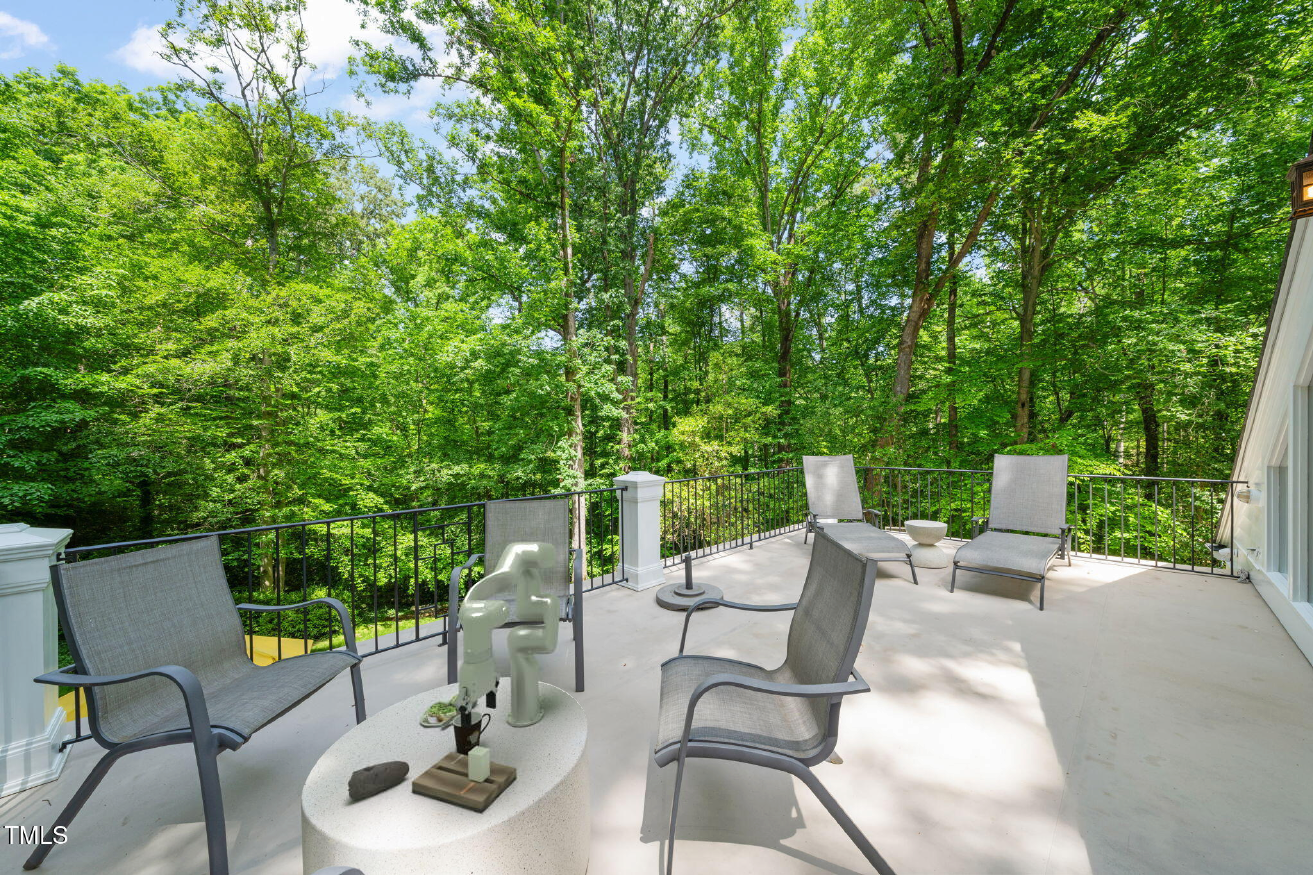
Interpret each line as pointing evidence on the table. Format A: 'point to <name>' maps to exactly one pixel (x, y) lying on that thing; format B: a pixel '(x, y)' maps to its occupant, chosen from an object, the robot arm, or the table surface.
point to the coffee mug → (468, 732)
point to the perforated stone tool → (376, 778)
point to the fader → (479, 763)
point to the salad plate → (442, 713)
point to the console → (463, 783)
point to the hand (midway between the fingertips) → (479, 716)
